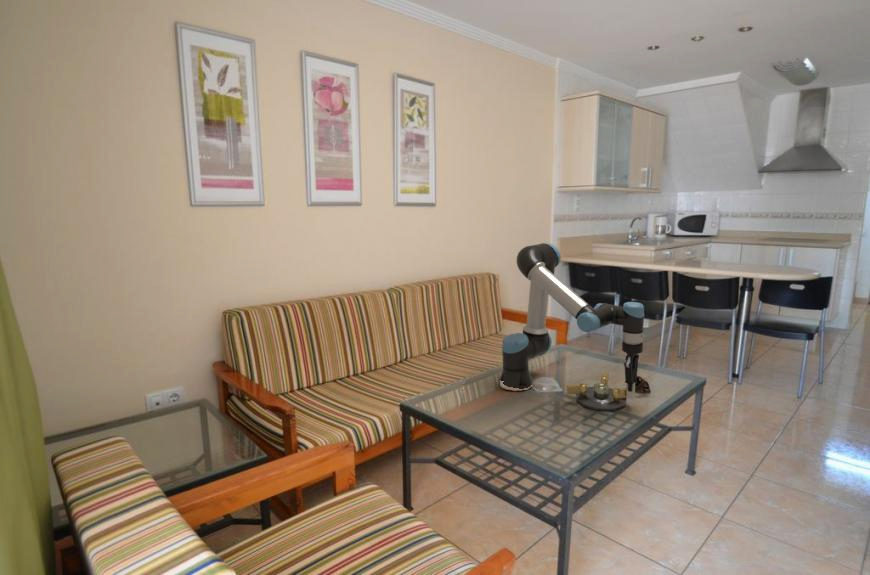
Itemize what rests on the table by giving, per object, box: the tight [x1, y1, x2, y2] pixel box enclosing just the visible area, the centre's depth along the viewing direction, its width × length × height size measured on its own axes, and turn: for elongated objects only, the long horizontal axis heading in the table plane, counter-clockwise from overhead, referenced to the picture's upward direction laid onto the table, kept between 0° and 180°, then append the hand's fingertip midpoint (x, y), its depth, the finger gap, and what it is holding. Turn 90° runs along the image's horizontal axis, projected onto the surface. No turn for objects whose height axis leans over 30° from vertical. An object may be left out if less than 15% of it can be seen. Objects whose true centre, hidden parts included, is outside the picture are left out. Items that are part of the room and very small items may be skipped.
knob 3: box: [612, 387, 627, 403], centre depth 193 cm, size 8×3×5 cm, turn 100°
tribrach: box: [575, 382, 628, 412], centre depth 199 cm, size 20×20×7 cm
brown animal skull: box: [625, 375, 652, 393], centre depth 207 cm, size 12×10×8 cm
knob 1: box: [566, 383, 588, 397], centre depth 199 cm, size 8×3×5 cm, turn 91°
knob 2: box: [600, 371, 610, 386], centre depth 208 cm, size 8×3×5 cm, turn 151°
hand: (630, 397), depth 191 cm, fingers closed
